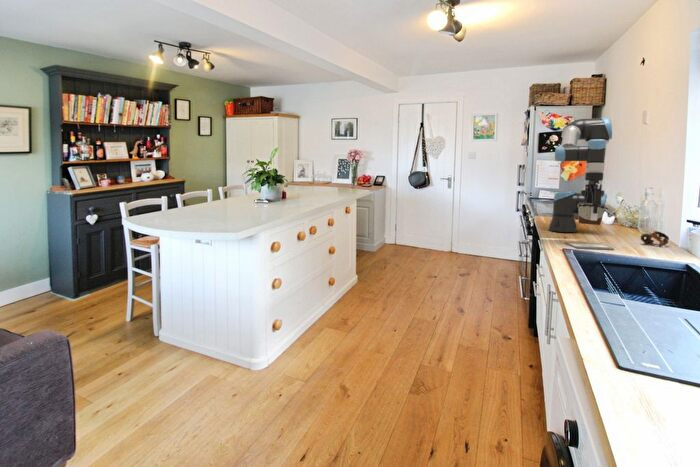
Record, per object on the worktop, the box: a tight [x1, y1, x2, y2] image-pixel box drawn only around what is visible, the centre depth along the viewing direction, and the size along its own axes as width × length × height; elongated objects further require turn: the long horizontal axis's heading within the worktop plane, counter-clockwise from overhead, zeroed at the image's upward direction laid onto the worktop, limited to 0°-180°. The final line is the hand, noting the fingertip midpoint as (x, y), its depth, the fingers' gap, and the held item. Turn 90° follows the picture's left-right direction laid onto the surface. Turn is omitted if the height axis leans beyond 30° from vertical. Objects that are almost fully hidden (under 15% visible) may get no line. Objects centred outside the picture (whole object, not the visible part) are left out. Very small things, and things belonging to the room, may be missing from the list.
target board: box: [564, 242, 615, 251], centre depth 210 cm, size 18×16×1 cm
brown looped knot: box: [640, 230, 670, 248], centre depth 217 cm, size 12×9×8 cm
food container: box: [577, 203, 607, 226], centre depth 208 cm, size 12×6×10 cm, turn 53°
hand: (590, 219), depth 208 cm, fingers closed on food container, 7 cm apart
